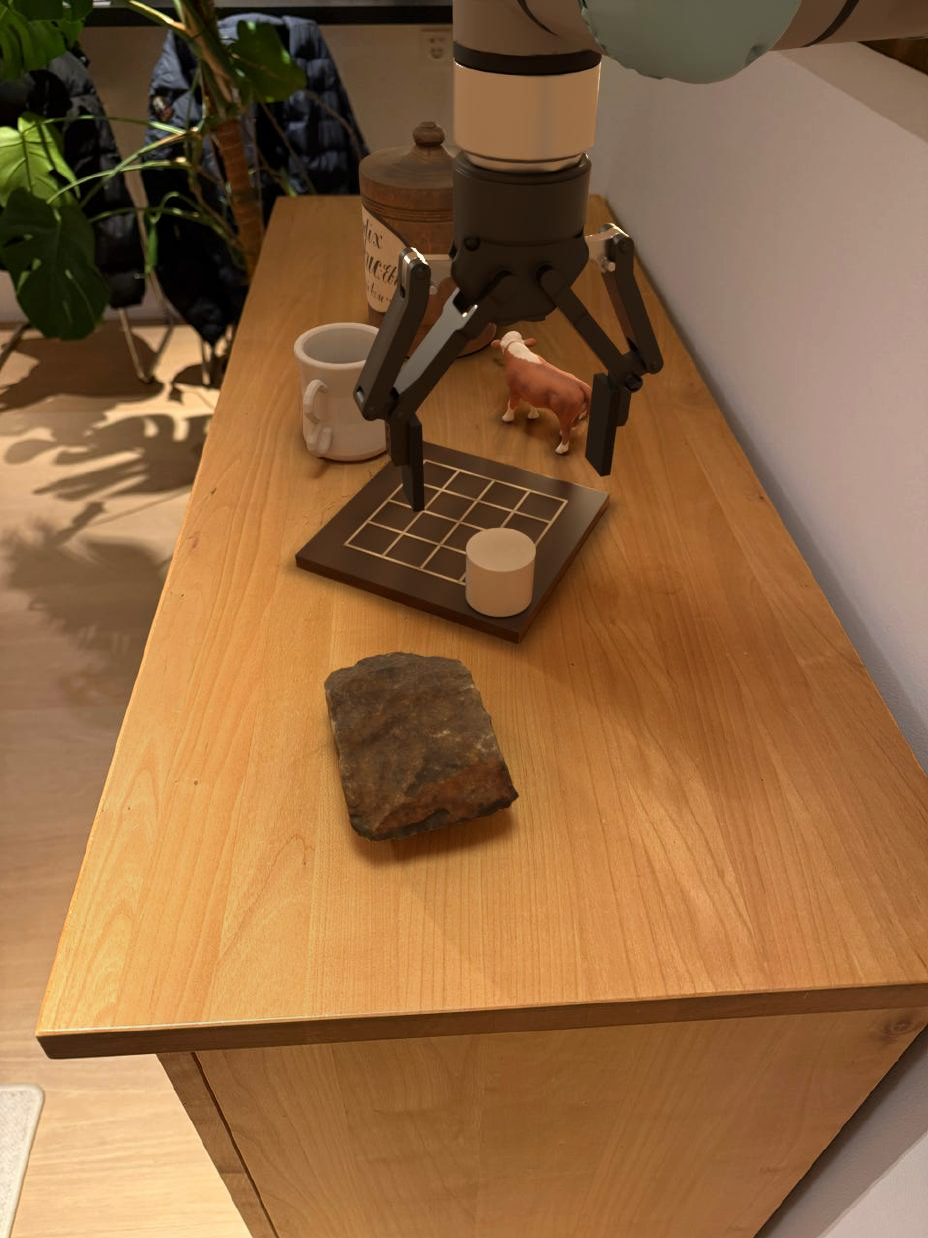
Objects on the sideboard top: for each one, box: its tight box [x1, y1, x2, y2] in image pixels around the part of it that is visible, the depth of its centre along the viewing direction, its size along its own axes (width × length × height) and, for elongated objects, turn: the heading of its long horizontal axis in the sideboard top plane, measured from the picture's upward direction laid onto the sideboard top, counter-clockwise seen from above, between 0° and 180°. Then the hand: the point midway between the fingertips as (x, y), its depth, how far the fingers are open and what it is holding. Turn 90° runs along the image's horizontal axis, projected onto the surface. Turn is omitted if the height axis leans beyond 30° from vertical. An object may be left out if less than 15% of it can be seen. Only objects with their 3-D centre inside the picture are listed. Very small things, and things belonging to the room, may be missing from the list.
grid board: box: [294, 440, 611, 644], centre depth 78 cm, size 20×20×1 cm
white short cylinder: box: [465, 528, 536, 617], centre depth 69 cm, size 5×5×4 cm
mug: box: [293, 322, 387, 462], centre depth 85 cm, size 12×9×10 cm
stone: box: [323, 651, 520, 843], centre depth 58 cm, size 10×14×6 cm
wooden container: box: [358, 120, 498, 358], centre depth 99 cm, size 15×15×22 cm
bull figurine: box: [490, 330, 592, 455], centre depth 88 cm, size 4×13×8 cm, turn 36°
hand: (507, 483), depth 63 cm, fingers open, 13 cm apart
